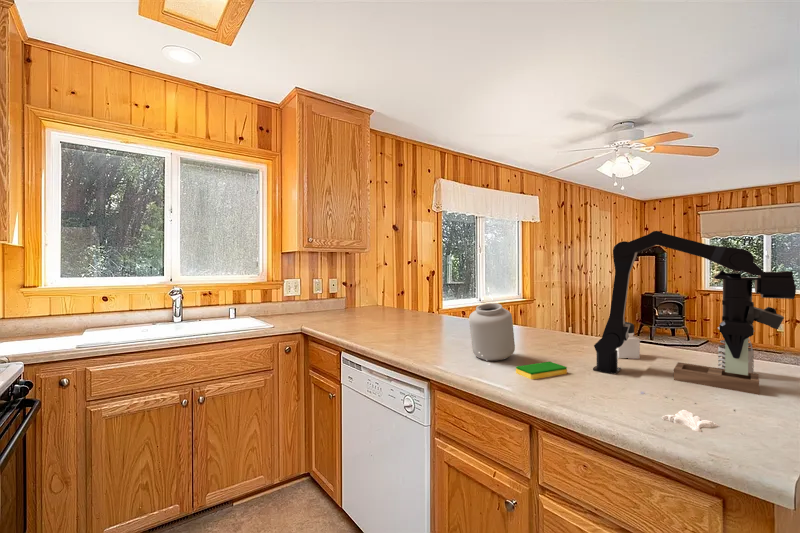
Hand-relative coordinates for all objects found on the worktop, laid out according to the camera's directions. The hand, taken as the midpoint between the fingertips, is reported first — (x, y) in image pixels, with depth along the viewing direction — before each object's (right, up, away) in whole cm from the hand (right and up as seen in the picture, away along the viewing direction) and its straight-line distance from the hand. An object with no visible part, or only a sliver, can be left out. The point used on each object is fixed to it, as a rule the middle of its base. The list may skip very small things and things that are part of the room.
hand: (736, 356), depth 98 cm
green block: (0, -4, 0) cm, 4 cm away
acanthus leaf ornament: (-27, -10, -19) cm, 34 cm away
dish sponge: (-45, -10, +16) cm, 49 cm away
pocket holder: (-3, -9, +3) cm, 10 cm away
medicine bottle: (-9, -8, +34) cm, 36 cm away
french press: (+10, -9, +11) cm, 17 cm away
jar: (-56, -9, +33) cm, 66 cm away
